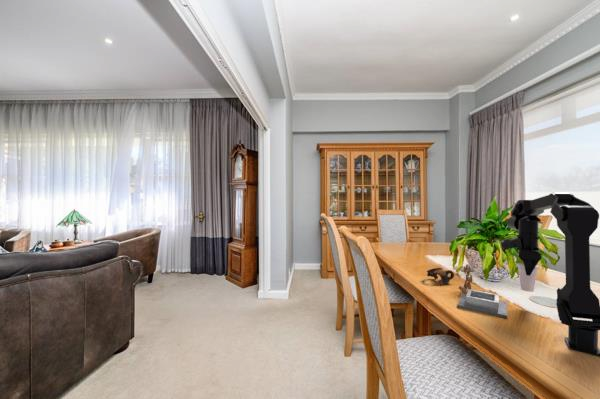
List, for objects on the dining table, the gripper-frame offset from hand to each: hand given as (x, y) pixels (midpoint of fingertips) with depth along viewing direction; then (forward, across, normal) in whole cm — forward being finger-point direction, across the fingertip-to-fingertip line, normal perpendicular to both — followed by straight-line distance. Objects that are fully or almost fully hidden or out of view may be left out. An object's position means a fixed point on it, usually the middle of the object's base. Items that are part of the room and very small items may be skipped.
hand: (527, 273), depth 102 cm
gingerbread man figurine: (+13, -5, -20) cm, 24 cm away
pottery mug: (+13, -12, -32) cm, 36 cm away
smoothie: (+7, 0, 0) cm, 7 cm away
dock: (+13, +10, -14) cm, 21 cm away
